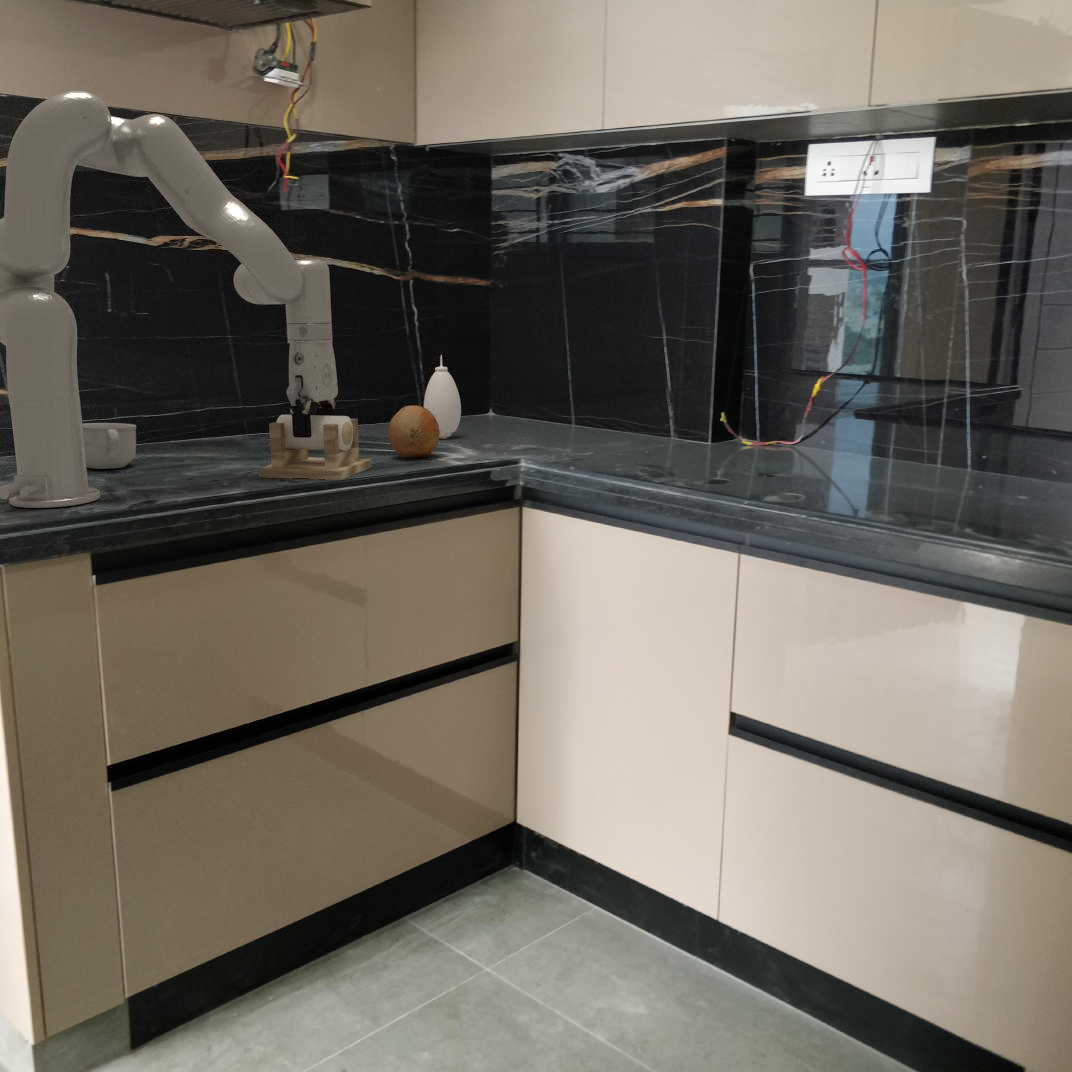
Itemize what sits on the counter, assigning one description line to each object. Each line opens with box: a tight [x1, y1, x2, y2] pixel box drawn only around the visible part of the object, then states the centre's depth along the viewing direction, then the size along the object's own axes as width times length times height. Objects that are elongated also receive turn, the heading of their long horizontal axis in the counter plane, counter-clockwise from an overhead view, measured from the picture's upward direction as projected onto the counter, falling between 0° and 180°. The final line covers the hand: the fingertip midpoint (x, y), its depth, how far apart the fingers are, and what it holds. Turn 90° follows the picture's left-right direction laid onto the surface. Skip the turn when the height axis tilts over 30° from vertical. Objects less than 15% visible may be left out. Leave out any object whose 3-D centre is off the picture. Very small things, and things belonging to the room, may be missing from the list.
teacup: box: [82, 422, 137, 470], centre depth 192 cm, size 14×11×8 cm
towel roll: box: [275, 414, 353, 451], centre depth 186 cm, size 6×12×6 cm, turn 76°
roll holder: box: [257, 418, 372, 481], centre depth 187 cm, size 14×15×9 cm
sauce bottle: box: [423, 354, 462, 440], centre depth 230 cm, size 8×8×18 cm
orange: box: [387, 405, 440, 459], centre depth 203 cm, size 10×10×10 cm
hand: (314, 433), depth 186 cm, fingers open, 9 cm apart
